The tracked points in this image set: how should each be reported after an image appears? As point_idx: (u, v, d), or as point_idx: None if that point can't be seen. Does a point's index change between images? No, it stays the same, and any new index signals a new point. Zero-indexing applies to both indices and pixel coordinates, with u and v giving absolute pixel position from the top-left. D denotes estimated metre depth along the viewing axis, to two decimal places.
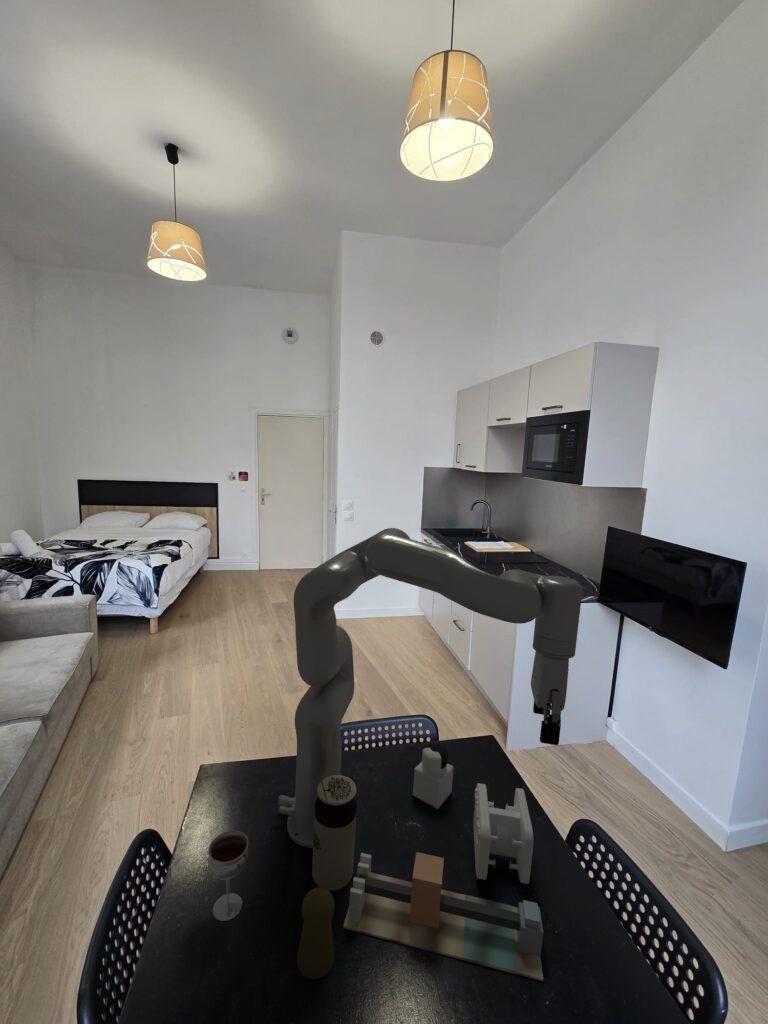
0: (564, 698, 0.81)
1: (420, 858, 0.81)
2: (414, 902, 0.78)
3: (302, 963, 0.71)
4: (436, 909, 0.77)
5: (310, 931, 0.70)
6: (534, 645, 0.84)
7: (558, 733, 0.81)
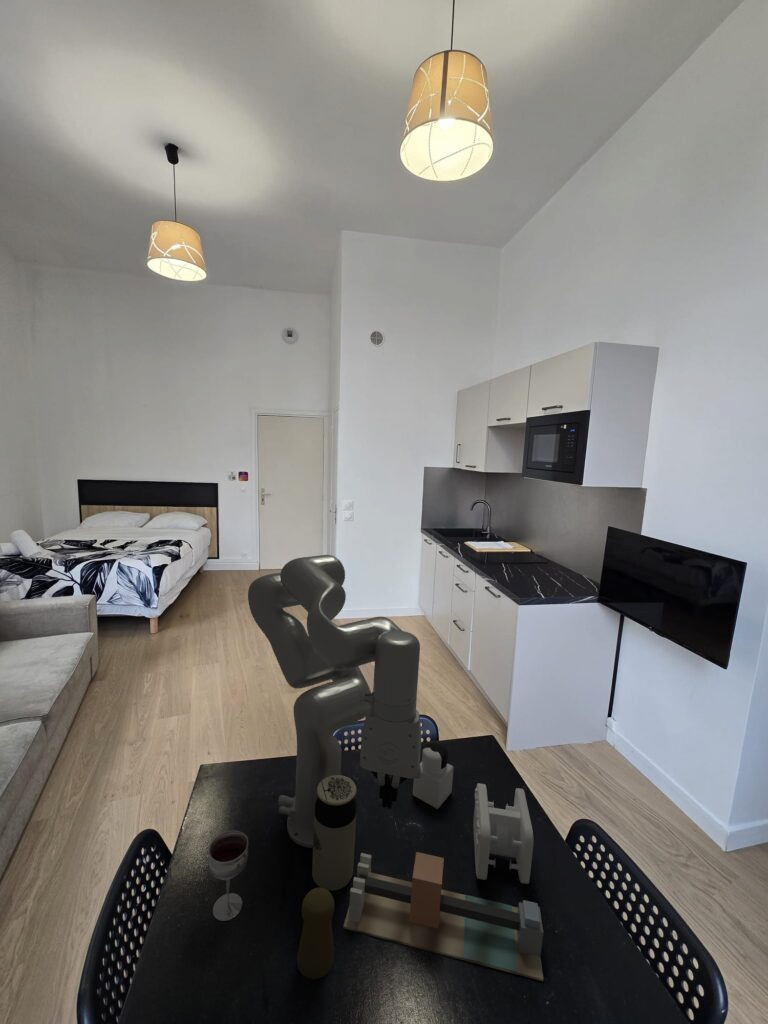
0: None
1: (420, 858, 0.81)
2: (414, 902, 0.78)
3: (302, 963, 0.71)
4: (436, 909, 0.77)
5: (310, 931, 0.70)
6: (395, 721, 0.74)
7: None
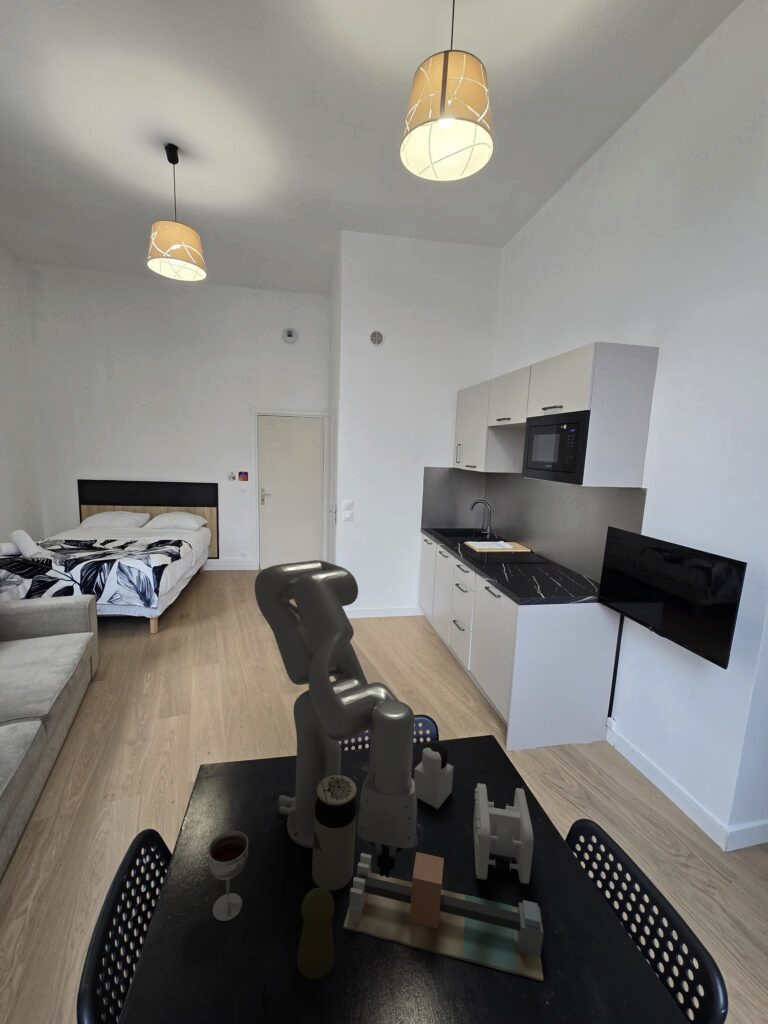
0: None
1: (420, 858, 0.81)
2: (414, 902, 0.78)
3: (302, 963, 0.71)
4: (436, 909, 0.77)
5: (310, 931, 0.70)
6: (391, 793, 0.75)
7: None
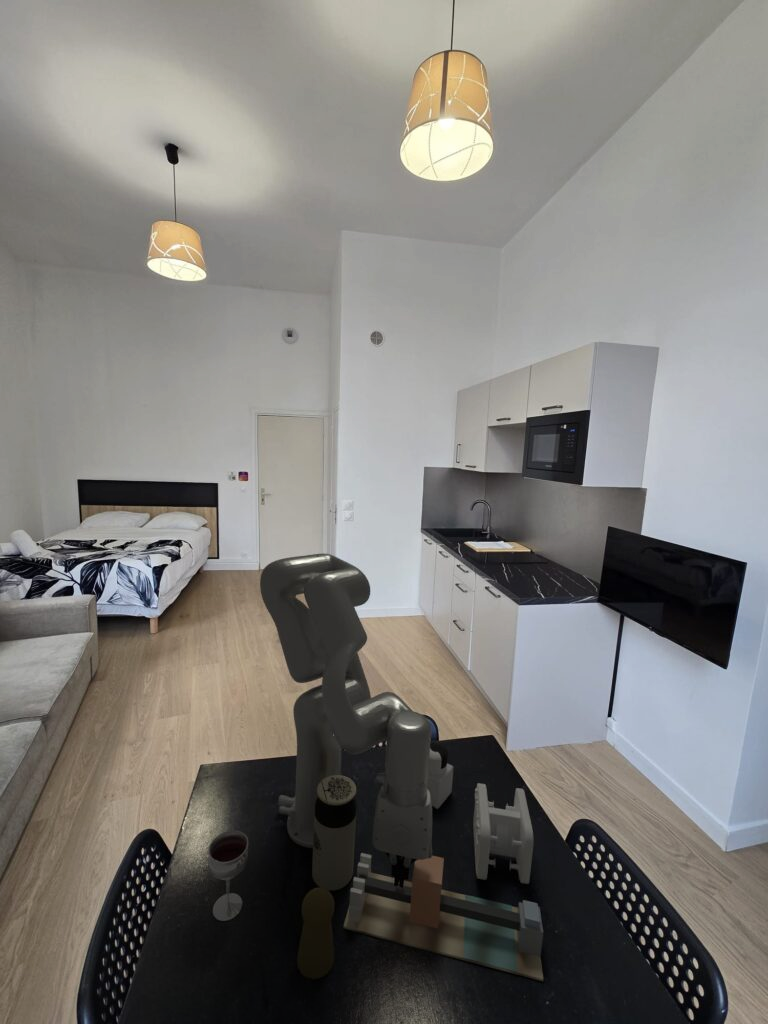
0: None
1: None
2: (414, 902, 0.78)
3: (302, 963, 0.71)
4: (436, 909, 0.77)
5: (310, 931, 0.70)
6: (407, 805, 0.75)
7: None
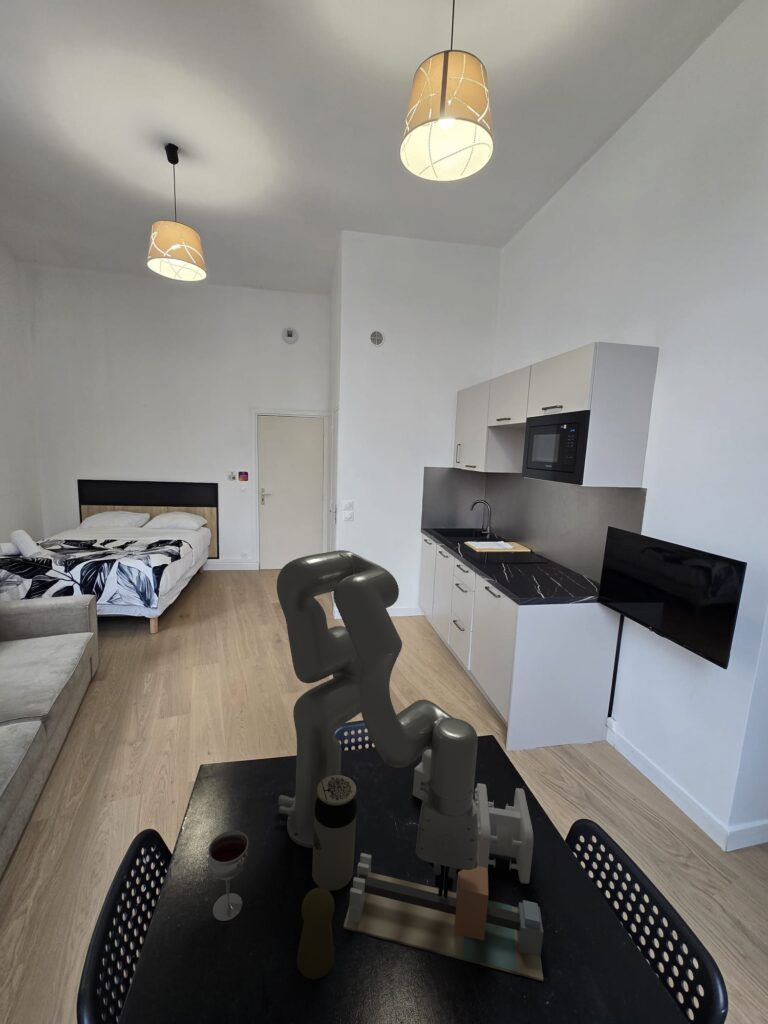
0: None
1: None
2: (459, 913, 0.76)
3: (302, 963, 0.71)
4: (482, 920, 0.76)
5: (310, 931, 0.70)
6: (454, 815, 0.73)
7: None
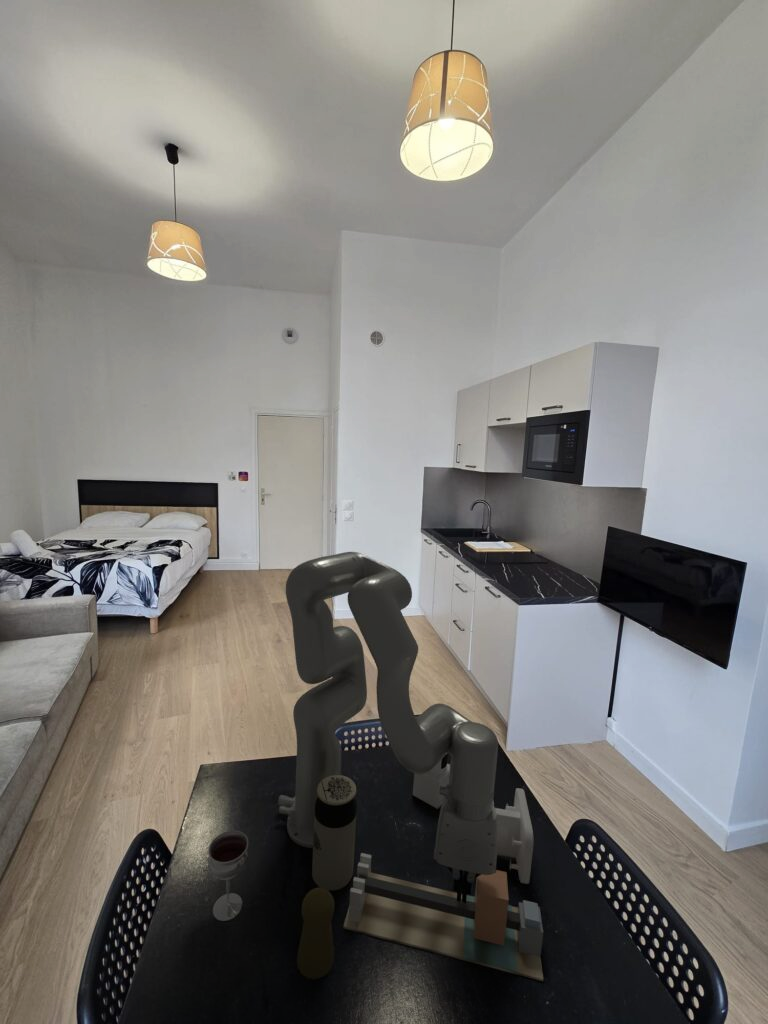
0: None
1: None
2: (479, 918, 0.76)
3: (302, 963, 0.71)
4: (502, 925, 0.75)
5: (310, 931, 0.70)
6: (474, 820, 0.73)
7: None
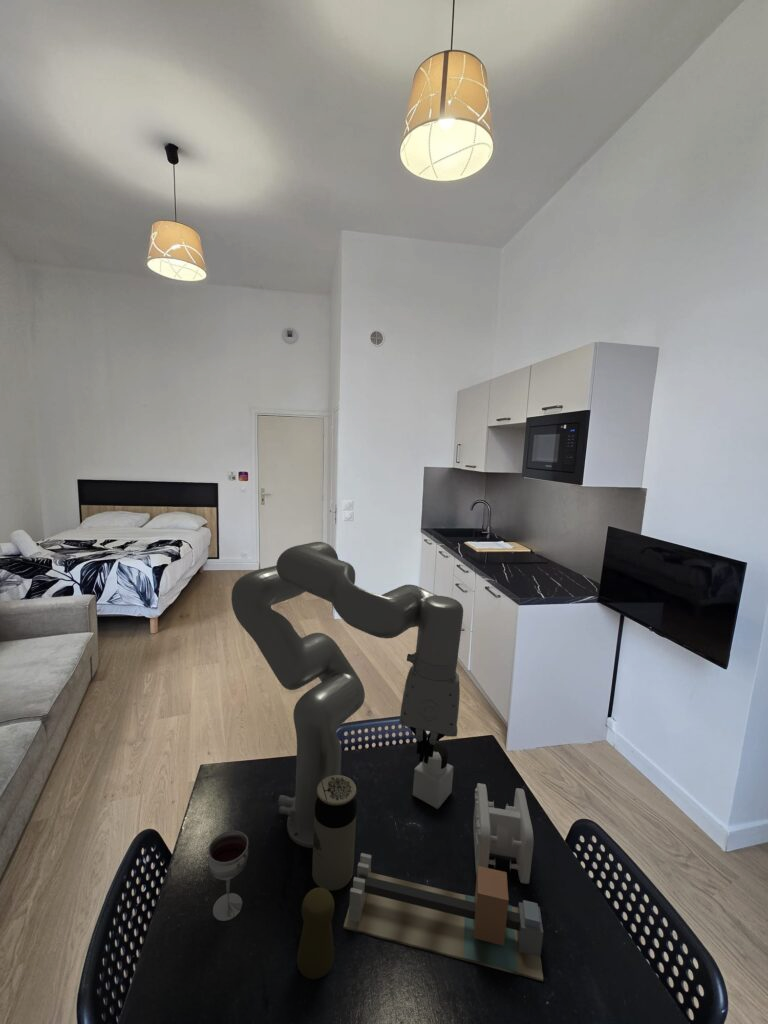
0: None
1: (482, 873, 0.79)
2: (479, 918, 0.76)
3: (302, 963, 0.71)
4: (502, 925, 0.75)
5: (310, 931, 0.70)
6: (437, 679, 0.77)
7: None
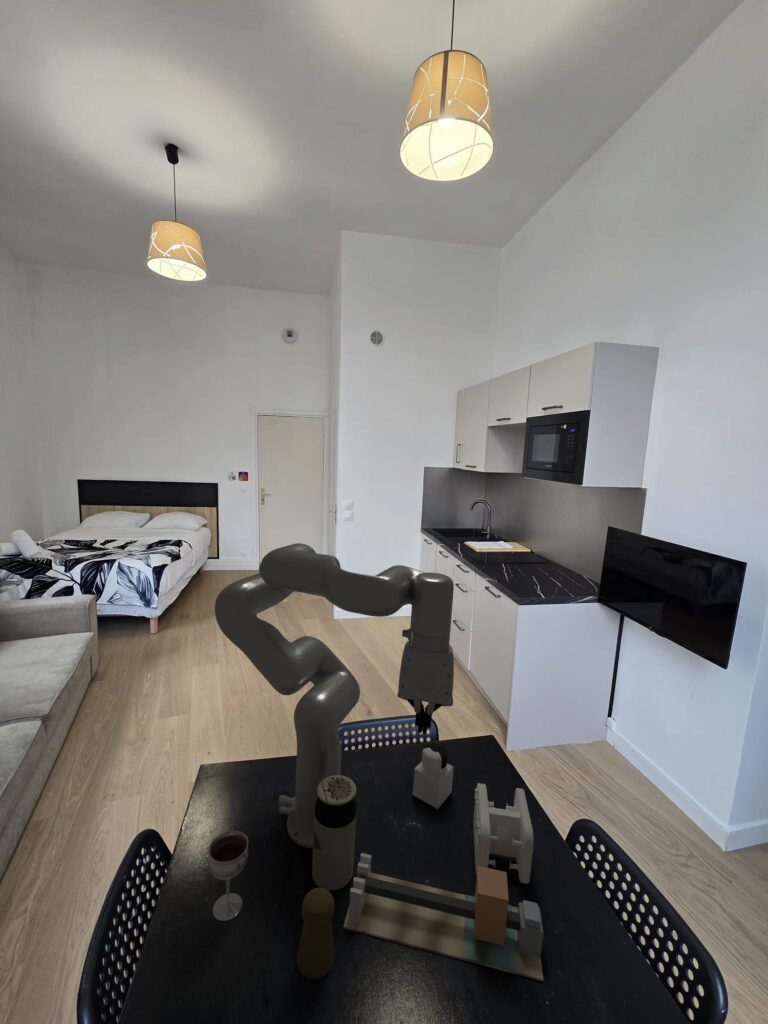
0: None
1: (482, 873, 0.79)
2: (479, 918, 0.76)
3: (302, 963, 0.71)
4: (502, 925, 0.75)
5: (310, 931, 0.70)
6: (432, 651, 0.82)
7: None
